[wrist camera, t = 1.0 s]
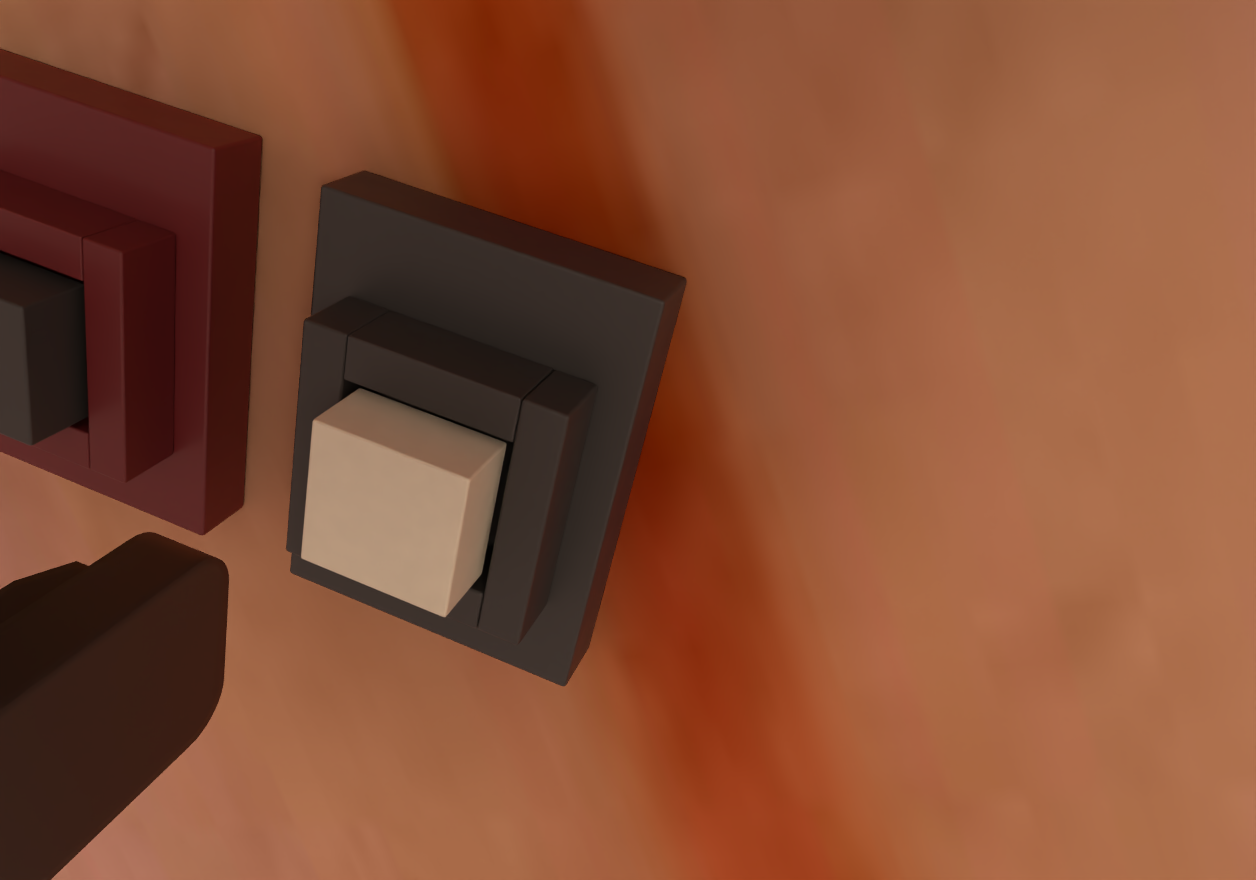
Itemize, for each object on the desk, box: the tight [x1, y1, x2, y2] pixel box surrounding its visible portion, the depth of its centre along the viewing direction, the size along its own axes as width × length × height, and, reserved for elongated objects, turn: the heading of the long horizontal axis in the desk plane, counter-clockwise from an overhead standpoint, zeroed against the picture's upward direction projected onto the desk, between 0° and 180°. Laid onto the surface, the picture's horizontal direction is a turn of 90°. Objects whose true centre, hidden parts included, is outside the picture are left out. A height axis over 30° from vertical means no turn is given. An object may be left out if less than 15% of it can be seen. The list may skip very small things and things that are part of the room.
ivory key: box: [301, 388, 506, 617], centre depth 25 cm, size 4×4×2 cm
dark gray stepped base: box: [286, 171, 686, 686], centre depth 27 cm, size 12×9×4 cm
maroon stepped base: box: [0, 49, 262, 535], centre depth 30 cm, size 12×9×4 cm
